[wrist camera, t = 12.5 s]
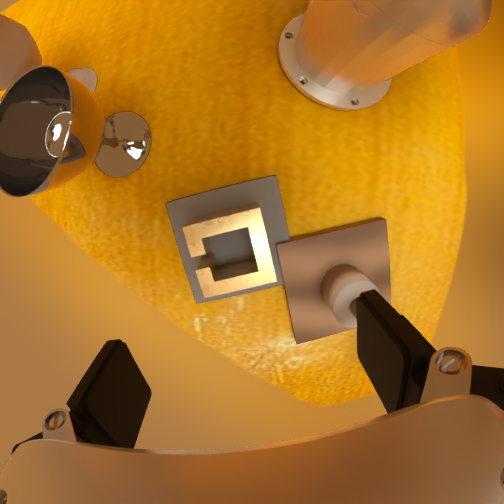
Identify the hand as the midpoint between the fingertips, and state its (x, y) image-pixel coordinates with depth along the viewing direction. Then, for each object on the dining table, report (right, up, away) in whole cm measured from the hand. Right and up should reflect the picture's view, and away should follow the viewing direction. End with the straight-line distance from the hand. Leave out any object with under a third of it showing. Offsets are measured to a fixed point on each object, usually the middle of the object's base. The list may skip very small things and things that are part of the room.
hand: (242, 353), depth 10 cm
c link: (-2, +5, +17) cm, 18 cm away
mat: (-1, +5, +18) cm, 19 cm away
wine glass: (-13, +15, +15) cm, 25 cm away
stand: (+10, +1, +19) cm, 22 cm away
